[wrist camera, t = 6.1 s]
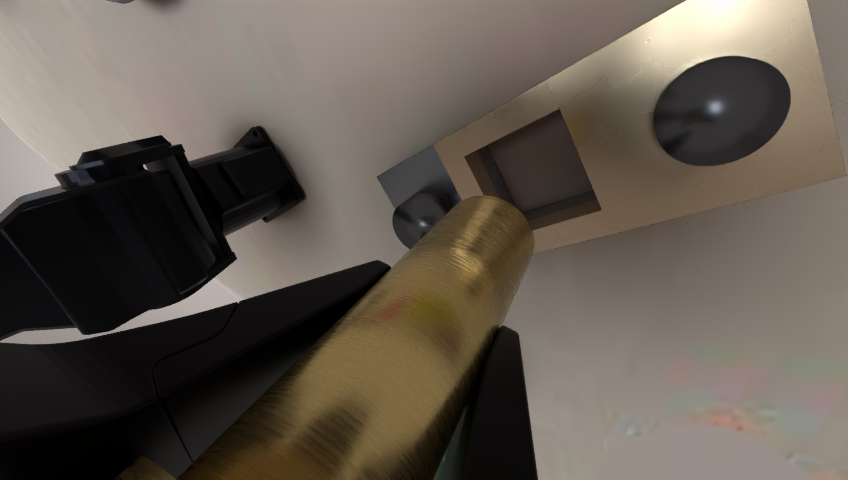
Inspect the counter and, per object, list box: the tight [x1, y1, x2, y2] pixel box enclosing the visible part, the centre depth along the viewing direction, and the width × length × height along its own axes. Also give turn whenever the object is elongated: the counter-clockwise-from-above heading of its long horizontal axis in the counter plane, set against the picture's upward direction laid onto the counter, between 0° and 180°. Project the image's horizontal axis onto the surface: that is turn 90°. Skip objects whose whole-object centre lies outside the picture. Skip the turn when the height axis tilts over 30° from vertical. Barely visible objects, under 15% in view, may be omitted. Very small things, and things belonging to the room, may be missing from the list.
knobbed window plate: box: [377, 0, 847, 254], centre depth 16 cm, size 18×7×4 cm, turn 122°
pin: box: [114, 195, 535, 480], centre depth 7 cm, size 4×4×10 cm
